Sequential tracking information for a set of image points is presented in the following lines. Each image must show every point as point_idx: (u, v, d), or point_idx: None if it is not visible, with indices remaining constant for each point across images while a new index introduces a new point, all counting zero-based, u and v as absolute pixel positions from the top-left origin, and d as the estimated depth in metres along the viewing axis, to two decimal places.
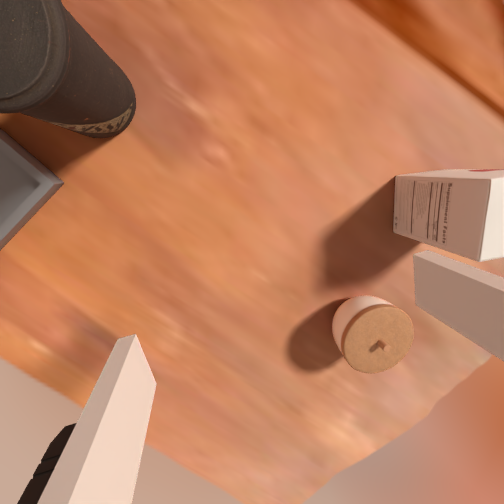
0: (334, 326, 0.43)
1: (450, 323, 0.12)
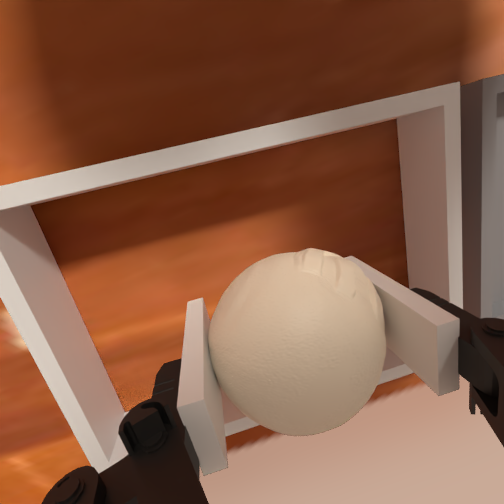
0: None
1: None
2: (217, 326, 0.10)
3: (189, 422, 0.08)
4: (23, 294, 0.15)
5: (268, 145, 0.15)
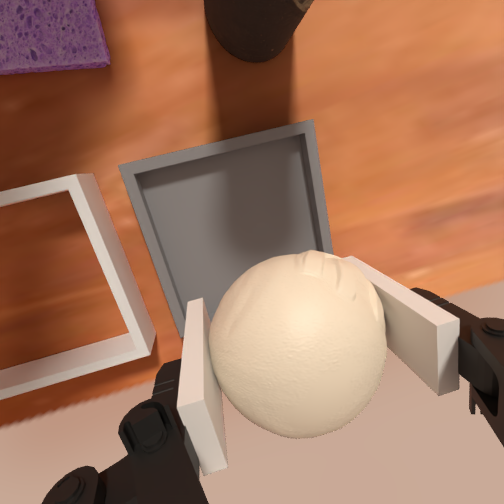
0: None
1: None
2: (218, 328, 0.10)
3: (189, 422, 0.08)
4: None
5: None
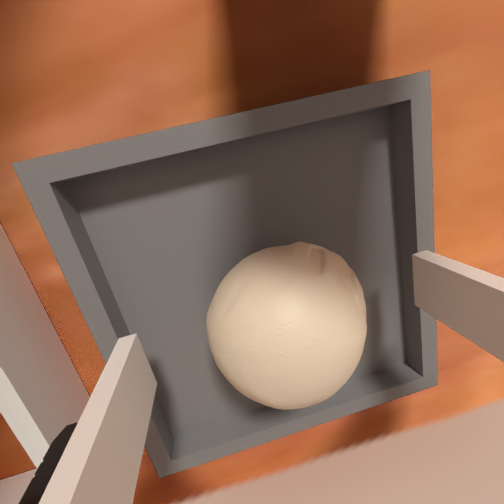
0: None
1: (449, 323, 0.12)
2: (214, 311, 0.12)
3: None
4: None
5: None
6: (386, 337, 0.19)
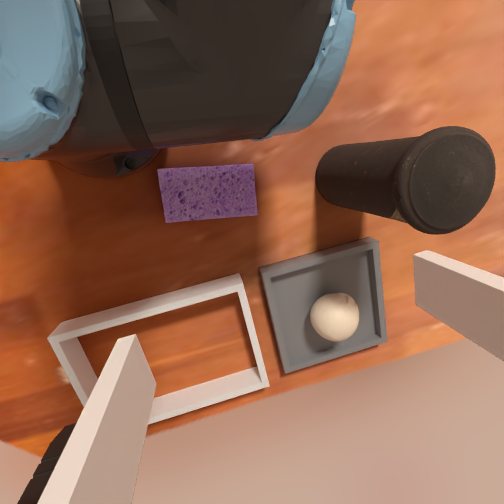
0: None
1: (451, 323, 0.12)
2: (316, 313, 0.41)
3: None
4: (72, 367, 0.39)
5: (164, 311, 0.38)
6: (367, 323, 0.48)
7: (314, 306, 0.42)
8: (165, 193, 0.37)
